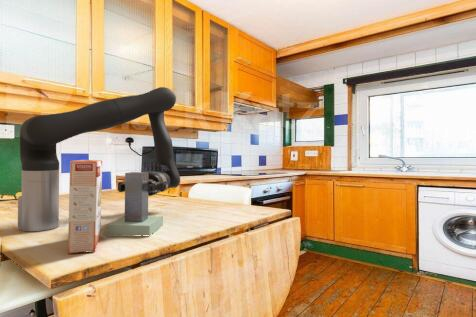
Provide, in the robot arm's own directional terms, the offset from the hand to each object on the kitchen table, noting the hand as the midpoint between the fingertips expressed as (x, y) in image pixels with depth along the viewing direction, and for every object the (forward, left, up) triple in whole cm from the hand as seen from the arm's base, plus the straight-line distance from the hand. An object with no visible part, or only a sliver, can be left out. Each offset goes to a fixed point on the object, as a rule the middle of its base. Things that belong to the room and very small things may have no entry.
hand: (134, 188), depth 83 cm
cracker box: (-7, -12, -13) cm, 19 cm away
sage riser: (0, +2, -13) cm, 13 cm away
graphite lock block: (0, +2, -10) cm, 10 cm away
